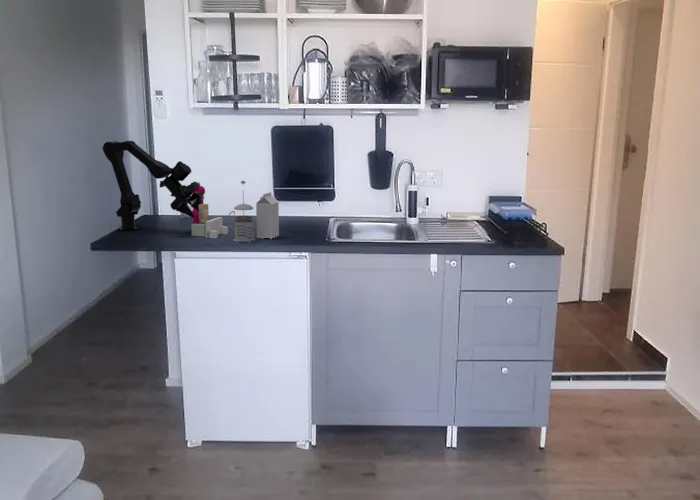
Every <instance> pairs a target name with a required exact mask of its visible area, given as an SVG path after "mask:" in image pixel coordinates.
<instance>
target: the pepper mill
mask: <svg viewBox="0 0 700 500" xmlns="http://www.w3.org/2000/svg"><path fill="white" fill-rule="evenodd" d="M196 182H197V181H196ZM197 183H198V184H199V185H200V186H199V190H196V191H194V192H192V193H196V192H200V193H201V194H202V195H203V196H202V199H201V203H202V204H205V203H204V200H205V194H206V189H205V187H204V186H202V185H201V183H200V182H199V181H198V182H197ZM192 208H193V207H192ZM191 211H192V212H193V213H194V215H195V217H194V218H192V219H193V221H192V224H199V211H197V210H196V209H194V208H193V209H192V210H191Z"/></svg>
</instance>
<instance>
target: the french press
mask: <svg viewBox="0 0 700 500" xmlns="http://www.w3.org/2000/svg"><path fill="white" fill-rule="evenodd" d="M240 184H242V185H244V184H246V181H245V180H241V181H240ZM244 194H245V192H244V191H242V203H241V204H237V205H236V206H234V207H233V209H234V210H232V211H230V212H229V213H228V215H227V225H228V227H230V228H231V229H233V231H234V238H233V240H234V241H251V240H255V239H256V238H255V235H254V234H255V233H254V220H253V216H250V215H249V216H248V215H245V211H252V210H254V207H253V206H252V205H251V204H248V203H247V204H246V203H245V201H244V200H245V199H244V197H245V196H244ZM235 210H237V211H242V213H243V215H239V216H237V215H236V216H235V214H236V212H235ZM232 213H233V215H234V216H235V218H234V219H235V220H234V227H233V226H231V224H230V222H229V216H230V215H231V214H232Z"/></svg>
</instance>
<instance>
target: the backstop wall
mask: <svg viewBox="0 0 700 500" xmlns="http://www.w3.org/2000/svg"><path fill="white" fill-rule="evenodd" d="M228 234H229V226H226V225H225V226H224V225H223V217H222V216H218V217H215V218H212V219H209V221H206V237H205V238H206V239H218V237H219V235H228Z"/></svg>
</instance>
